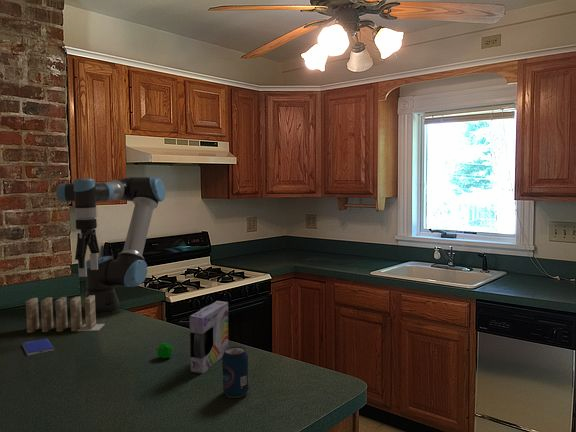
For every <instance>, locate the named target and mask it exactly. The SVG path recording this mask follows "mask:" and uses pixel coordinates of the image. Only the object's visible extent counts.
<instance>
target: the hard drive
mask: <svg viewBox="0 0 576 432" xmlns="http://www.w3.org/2000/svg"><path fill="white" fill-rule="evenodd" d="M22 348H23V349H24V352H25V353H26V355H27V356H32V355H38V354H42V353H47V352H48V351H49V352H52V351H55V347H54V346H53V345H52V344H51V342H50V340H49V338H41V339H37V340H35V339H34V340H30V341H24V342H23V343H22Z"/></svg>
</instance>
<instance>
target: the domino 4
mask: <svg viewBox="0 0 576 432" xmlns="http://www.w3.org/2000/svg"><path fill="white" fill-rule="evenodd" d="M69 309H70V311H69V312H70V328H71V329H70V330H71V331H72V332H78V331H77V330H79V329H80V328H81V327H82V326H83V318H82V317H83V316H82V298H81V296H74V297H72V298H71V299H69Z"/></svg>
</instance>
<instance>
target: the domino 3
mask: <svg viewBox="0 0 576 432" xmlns="http://www.w3.org/2000/svg"><path fill="white" fill-rule="evenodd" d="M54 304H55V321H56V322H55V323H56V332H63V331H64V330H66V329H67V328H68V327H69V323H68V322H69V321H68V302H67V296H61V297H59V298H57V299H56V300H55V301H54Z"/></svg>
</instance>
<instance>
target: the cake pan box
mask: <svg viewBox="0 0 576 432" xmlns="http://www.w3.org/2000/svg"><path fill="white" fill-rule="evenodd" d="M189 348H190V349H189V353H190V354H189V356H190V357H189V358H190V372H191V373H196V374H204V373H205V372H207V371H208V370H209V369H210V368H212V366H214V365H215V364H216V363H218V361H220V360H222V356H223V354H224V350H225V349H227V348H229V302H228V301H222V300H216V301H215V302H213V303H211V304H209V305H206V306H204V307H202V308H201V309H199V310H198V311H197V312H195V313H192V314H191V315H189Z"/></svg>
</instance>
